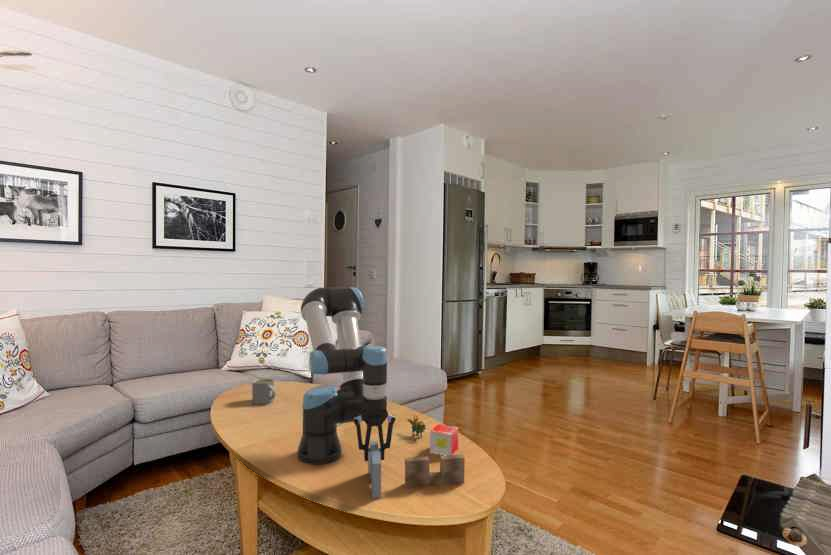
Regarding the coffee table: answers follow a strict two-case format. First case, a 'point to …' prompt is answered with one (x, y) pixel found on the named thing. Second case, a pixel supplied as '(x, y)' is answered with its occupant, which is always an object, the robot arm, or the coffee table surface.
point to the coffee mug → (263, 391)
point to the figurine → (417, 426)
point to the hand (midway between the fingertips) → (374, 470)
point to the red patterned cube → (443, 439)
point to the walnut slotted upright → (421, 476)
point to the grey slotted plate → (375, 470)
